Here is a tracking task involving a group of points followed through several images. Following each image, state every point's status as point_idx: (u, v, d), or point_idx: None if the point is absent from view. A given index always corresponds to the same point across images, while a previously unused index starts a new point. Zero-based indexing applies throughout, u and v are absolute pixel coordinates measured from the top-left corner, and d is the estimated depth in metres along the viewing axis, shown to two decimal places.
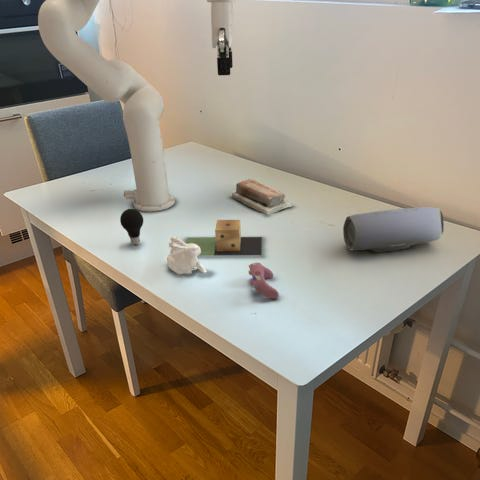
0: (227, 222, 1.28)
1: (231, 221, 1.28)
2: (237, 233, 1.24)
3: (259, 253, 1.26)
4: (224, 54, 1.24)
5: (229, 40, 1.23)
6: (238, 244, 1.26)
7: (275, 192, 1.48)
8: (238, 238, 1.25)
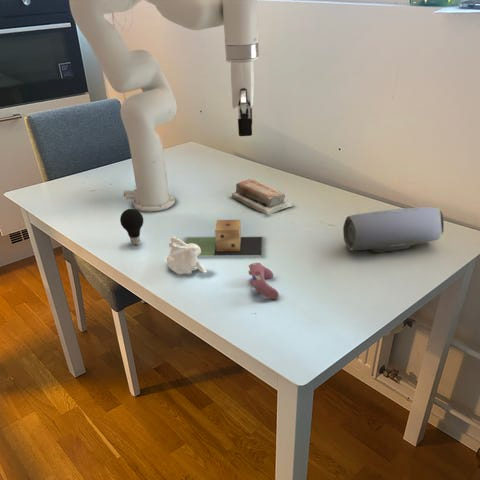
0: (227, 222, 1.28)
1: (231, 221, 1.28)
2: (237, 233, 1.24)
3: (259, 253, 1.26)
4: (246, 115, 1.15)
5: (251, 100, 1.15)
6: (238, 244, 1.26)
7: (275, 192, 1.48)
8: (238, 238, 1.25)
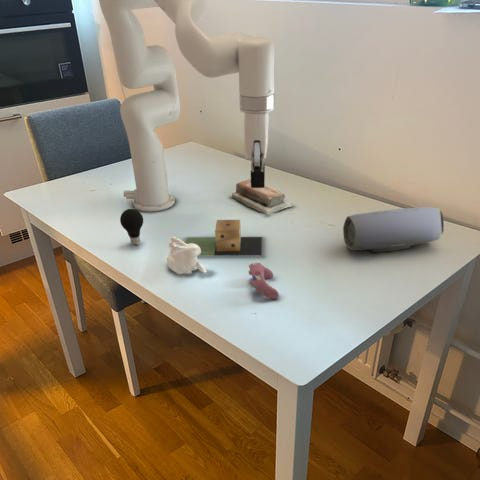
0: (227, 222, 1.28)
1: (231, 221, 1.28)
2: (237, 233, 1.24)
3: (259, 253, 1.26)
4: (259, 169, 1.13)
5: (264, 152, 1.10)
6: (238, 244, 1.26)
7: (275, 192, 1.48)
8: (238, 238, 1.25)
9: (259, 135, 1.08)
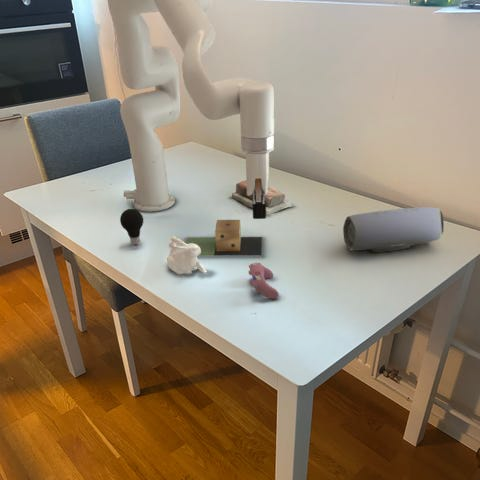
0: (227, 222, 1.28)
1: (231, 221, 1.28)
2: (237, 233, 1.24)
3: (259, 253, 1.26)
4: (260, 202, 1.20)
5: (265, 189, 1.15)
6: (238, 244, 1.26)
7: (275, 192, 1.48)
8: (238, 238, 1.25)
9: (260, 174, 1.13)
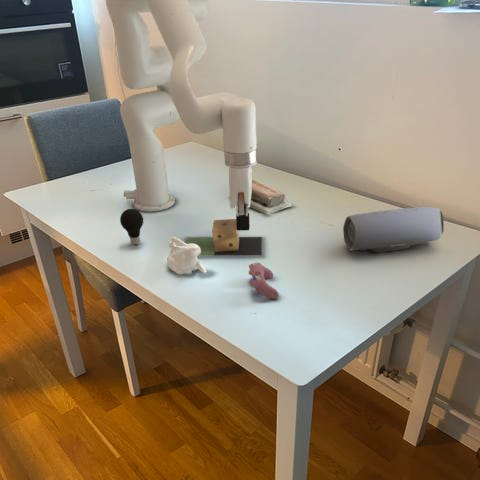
0: (224, 222, 1.27)
1: (228, 221, 1.28)
2: (234, 232, 1.24)
3: (259, 253, 1.26)
4: (244, 214, 1.22)
5: (248, 202, 1.17)
6: (236, 243, 1.26)
7: (275, 192, 1.48)
8: (235, 237, 1.25)
9: (243, 187, 1.15)
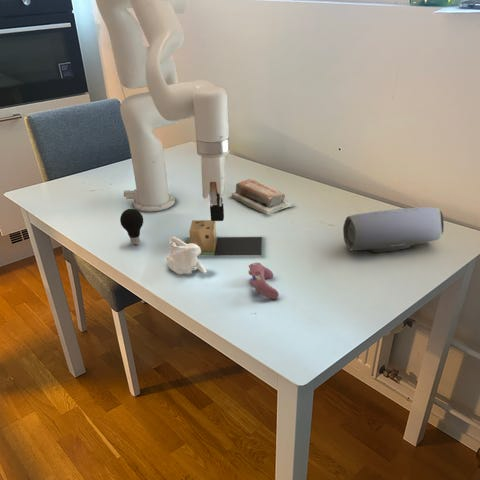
0: None
1: None
2: (193, 232, 1.25)
3: (259, 253, 1.26)
4: (217, 204, 1.21)
5: (220, 192, 1.16)
6: (205, 231, 1.24)
7: (275, 192, 1.48)
8: (198, 231, 1.24)
9: (215, 177, 1.14)
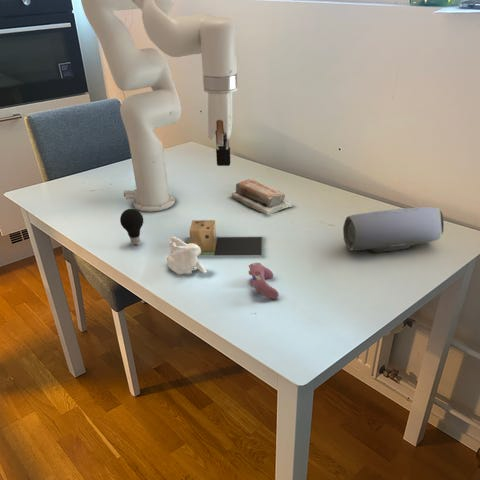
0: None
1: None
2: (193, 232, 1.25)
3: (259, 253, 1.26)
4: (223, 147, 1.17)
5: (227, 132, 1.12)
6: (205, 231, 1.24)
7: (275, 192, 1.48)
8: (198, 231, 1.24)
9: (221, 115, 1.10)
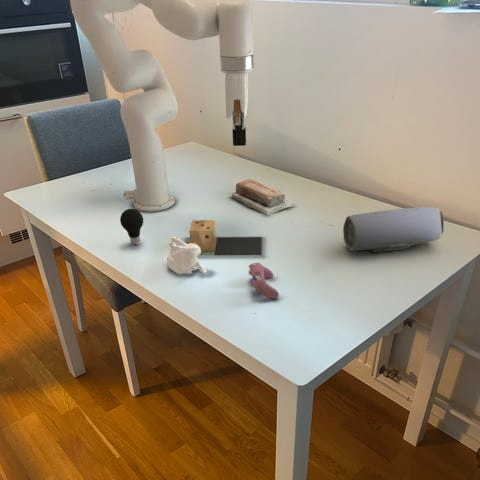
0: None
1: None
2: (193, 232, 1.25)
3: (259, 253, 1.26)
4: (240, 126, 1.20)
5: (244, 111, 1.16)
6: (205, 231, 1.24)
7: (275, 192, 1.48)
8: (198, 231, 1.24)
9: (239, 94, 1.14)
